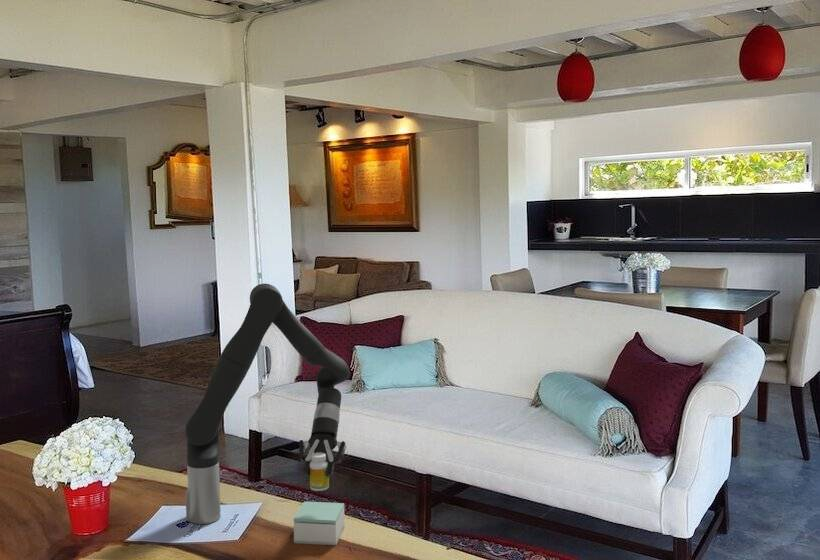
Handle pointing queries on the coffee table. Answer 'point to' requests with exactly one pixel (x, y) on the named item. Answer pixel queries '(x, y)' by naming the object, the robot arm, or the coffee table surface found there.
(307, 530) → the storage box
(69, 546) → the coffee table surface
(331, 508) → the lid
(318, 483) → the supplement bottle
